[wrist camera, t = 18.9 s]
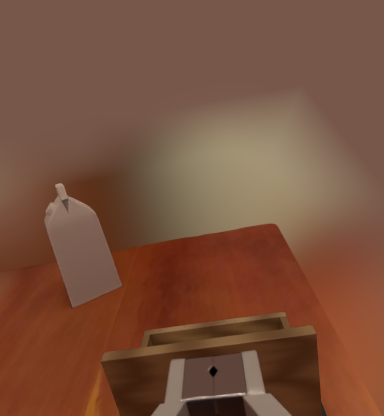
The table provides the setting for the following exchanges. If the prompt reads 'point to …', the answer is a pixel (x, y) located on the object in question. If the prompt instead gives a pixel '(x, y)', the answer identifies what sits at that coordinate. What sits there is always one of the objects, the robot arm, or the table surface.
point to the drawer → (215, 345)
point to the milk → (80, 249)
